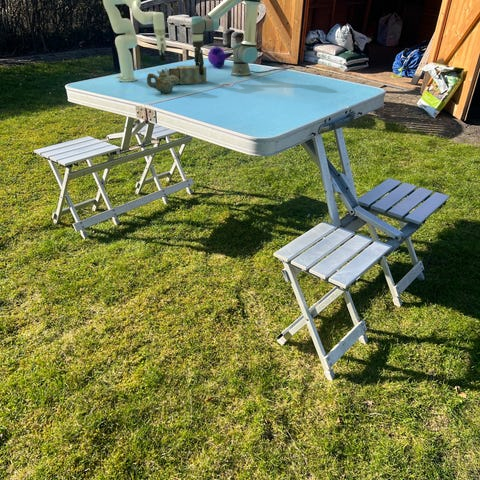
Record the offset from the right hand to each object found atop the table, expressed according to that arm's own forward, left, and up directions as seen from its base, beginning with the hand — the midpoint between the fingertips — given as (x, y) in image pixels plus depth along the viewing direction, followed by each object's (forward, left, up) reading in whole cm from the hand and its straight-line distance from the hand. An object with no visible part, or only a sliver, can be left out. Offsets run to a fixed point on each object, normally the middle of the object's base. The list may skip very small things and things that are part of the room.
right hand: (199, 73), depth 329 cm
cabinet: (+6, -2, -6) cm, 8 cm away
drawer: (+17, -7, -4) cm, 19 cm away
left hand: (+25, -9, +11) cm, 28 cm away
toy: (-50, -41, -6) cm, 65 cm away
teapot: (+38, +13, -6) cm, 41 cm away
